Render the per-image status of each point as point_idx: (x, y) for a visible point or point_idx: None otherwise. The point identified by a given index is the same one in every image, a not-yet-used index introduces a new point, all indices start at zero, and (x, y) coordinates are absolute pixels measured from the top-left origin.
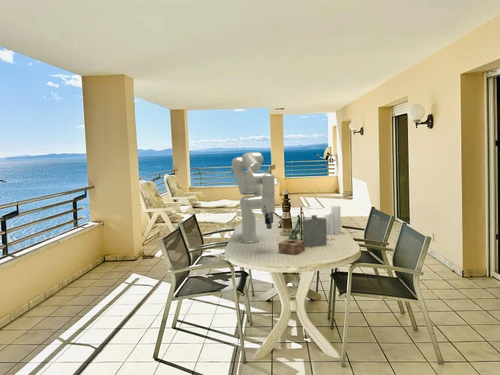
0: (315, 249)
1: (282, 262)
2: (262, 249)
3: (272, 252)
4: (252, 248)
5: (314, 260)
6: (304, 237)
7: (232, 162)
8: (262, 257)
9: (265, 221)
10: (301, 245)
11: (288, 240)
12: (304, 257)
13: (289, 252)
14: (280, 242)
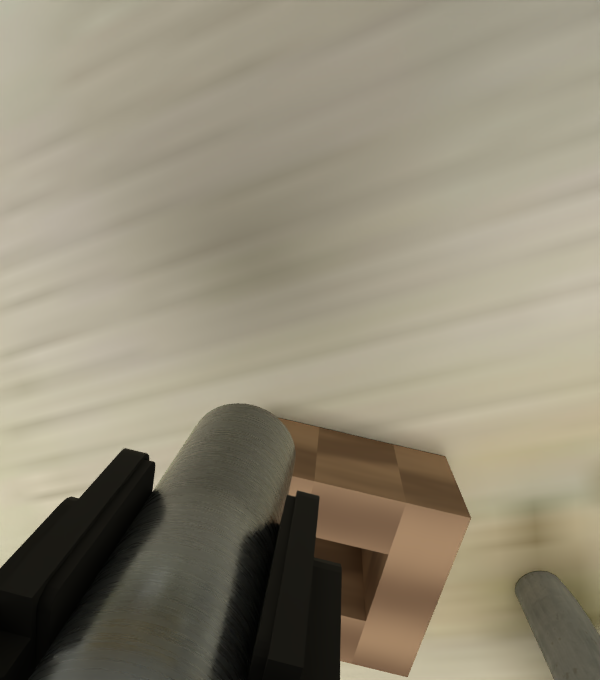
0: (437, 660)
1: (15, 495)
2: (360, 222)
3: (267, 357)
4: (386, 81)
5: None
6: (557, 670)
7: None
8: (79, 313)
9: (92, 497)
10: None
11: (403, 540)
12: None
13: None
14: (292, 478)
